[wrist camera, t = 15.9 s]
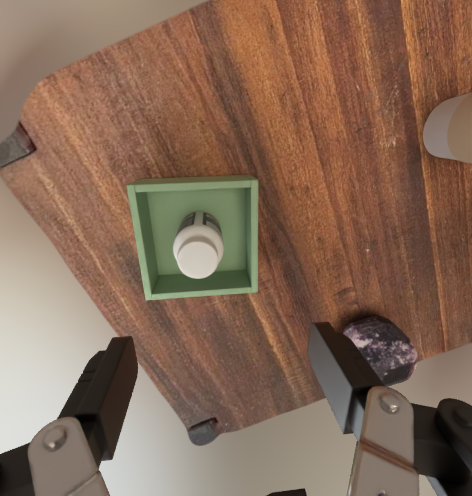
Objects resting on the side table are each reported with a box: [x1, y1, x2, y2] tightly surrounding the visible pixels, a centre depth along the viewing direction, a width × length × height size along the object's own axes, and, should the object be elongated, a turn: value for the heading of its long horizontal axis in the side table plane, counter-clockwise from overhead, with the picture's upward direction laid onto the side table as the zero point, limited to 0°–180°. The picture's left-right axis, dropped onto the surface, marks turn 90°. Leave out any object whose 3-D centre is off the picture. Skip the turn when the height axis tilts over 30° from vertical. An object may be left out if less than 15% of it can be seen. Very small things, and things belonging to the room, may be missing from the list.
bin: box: [126, 175, 258, 300], centre depth 33 cm, size 14×14×6 cm
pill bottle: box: [173, 211, 224, 279], centre depth 30 cm, size 5×5×10 cm
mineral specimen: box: [343, 316, 418, 387], centre depth 40 cm, size 10×10×10 cm
